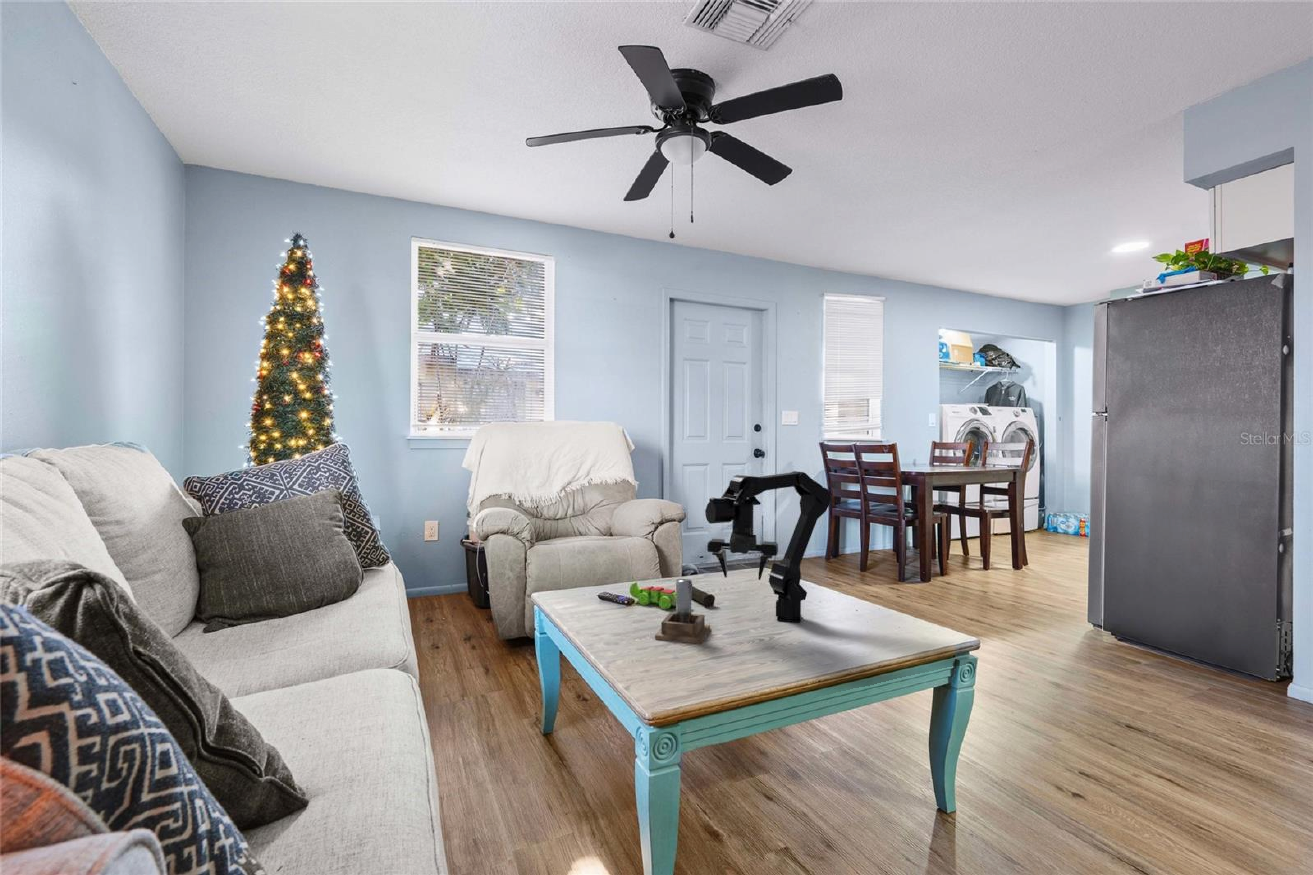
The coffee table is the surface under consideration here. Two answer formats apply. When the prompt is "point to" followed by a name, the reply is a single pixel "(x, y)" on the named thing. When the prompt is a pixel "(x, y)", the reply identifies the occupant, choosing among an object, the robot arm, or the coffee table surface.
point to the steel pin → (683, 601)
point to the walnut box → (683, 629)
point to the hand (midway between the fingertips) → (742, 578)
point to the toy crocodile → (654, 595)
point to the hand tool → (702, 597)
